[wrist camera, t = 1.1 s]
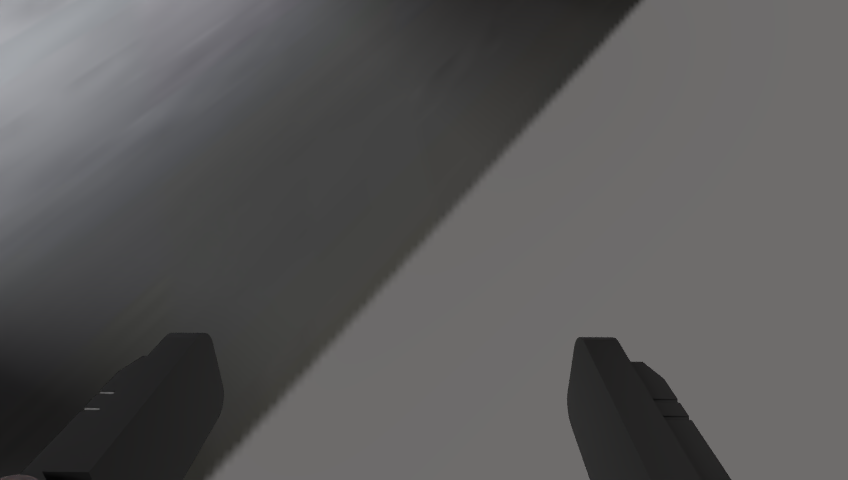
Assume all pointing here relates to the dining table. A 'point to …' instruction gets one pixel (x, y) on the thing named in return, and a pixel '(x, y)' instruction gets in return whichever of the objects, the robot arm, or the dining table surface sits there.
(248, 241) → the dining table surface
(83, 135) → the dining table surface
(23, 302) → the dining table surface
